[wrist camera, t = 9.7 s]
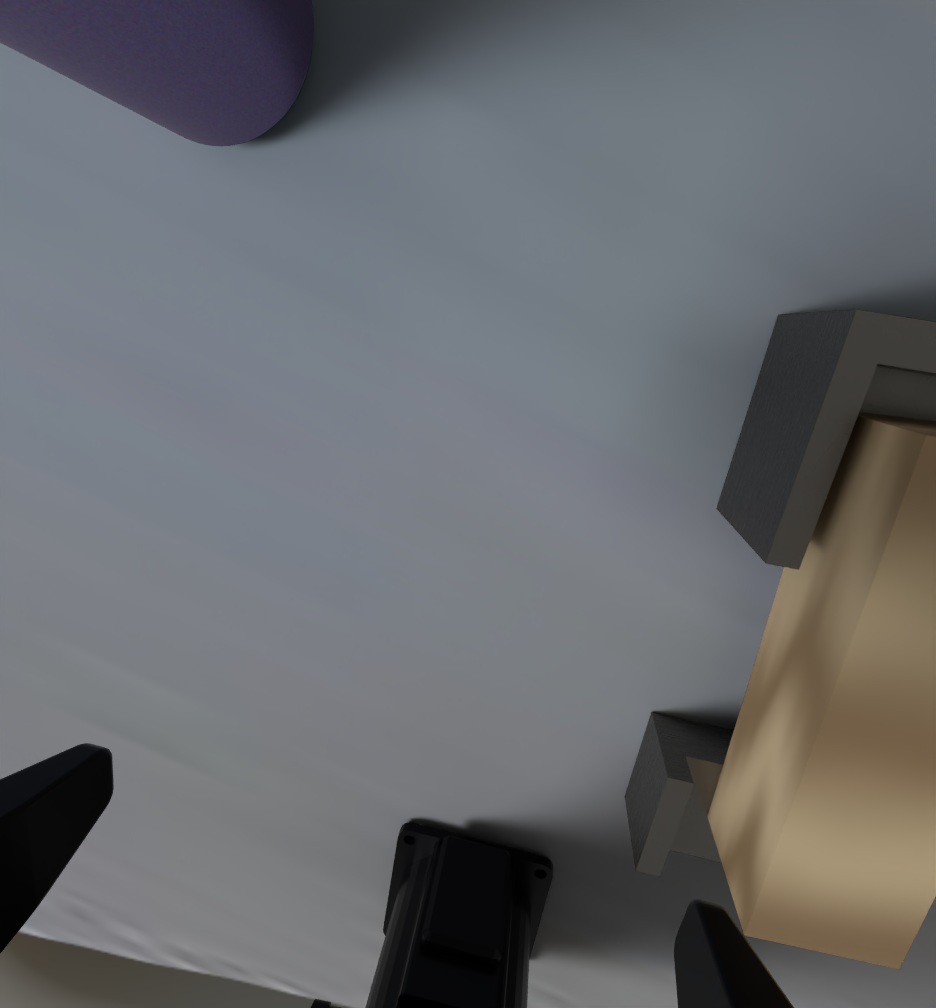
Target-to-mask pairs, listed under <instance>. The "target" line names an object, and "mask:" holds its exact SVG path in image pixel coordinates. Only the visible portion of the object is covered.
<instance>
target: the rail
mask: <svg viewBox="0 0 936 1008" xmlns="http://www.w3.org/2000/svg"><path fill="white" fill-rule="evenodd" d="M707 817H708V820H709V824H710V827H711V830H712V833H713V836H714V840H715V843H716V846H717V849H718V853H719V856H720V859H721V862H722V865H723V869H724V872H725V875H726V878H727V881H728V885H729V888H730V891H731V894H732V897H733V901H734V904H735V907H736V910H737V914H738V917H739V920H740V923H741V926H742V930H743V933H744V935H745V936H750V937H754V938H759V939H763V940H768V941H772V942H777V943H781V944H786V945H790V946H795V947H799V948H804V949H808V950H813V951H817V952H822V953H826V954H831V955H836V956H840V957H845V958H849V959H854V960H858V961H863V962H867V963H872V964H876V965H881V966H885V967H890V968H894V969H900V967H901V965H902V963H903V961H904V959H905V957H906V955H907V953H908V951H909V949H910V947H911V945H912V943H913V941H914V939H915V937H916V935H917V933H918V931H919V929H920V927H921V925H922V923H923V921H924V919H925V917H926V914H927V912H928V910H929V908H930V906H931V904H932V902H933V900H934V898H935V896H936V421H928V420H920V419H912V418H904V417H896V416H887V415H879V414H871V413H863V412H859V414H858V417H857V419H856V422H855V424H854V427H853V430H852V432H851V435H850V437H849V440H848V443H847V445H846V448H845V451H844V453H843V456H842V458H841V461H840V464H839V466H838V469H837V472H836V474H835V477H834V479H833V482H832V485H831V487H830V490H829V492H828V495H827V498H826V500H825V503H824V506H823V508H822V511H821V513H820V516H819V519H818V521H817V524H816V527H815V529H814V532H813V534H812V537H811V540H810V542H809V545H808V547H807V550H806V553H805V555H804V558H803V561H802V563H801V566H800V568H799V570H797V569H792V568H787V567H784V569H783V573H782V576H781V579H780V582H779V586H778V589H777V592H776V595H775V599H774V602H773V605H772V608H771V612H770V615H769V618H768V621H767V625H766V628H765V631H764V634H763V638H762V641H761V644H760V647H759V651H758V654H757V657H756V660H755V664H754V667H753V670H752V673H751V677H750V680H749V683H748V686H747V690H746V693H745V696H744V699H743V703H742V706H741V709H740V712H739V716H738V719H737V722H736V725H735V729H734V732H733V735H732V738H731V742H730V745H729V748H728V751H727V755H726V758H725V761H724V764H723V768H722V771H721V774H720V777H719V781H718V784H717V787H716V790H715V794H714V797H713V800H712V803H711V807H710V810H709V813H708V816H707Z"/></svg>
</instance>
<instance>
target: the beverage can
mask: <svg viewBox="0 0 936 1008" xmlns="http://www.w3.org/2000/svg"><path fill="white" fill-rule="evenodd" d="M0 43H2V44H4V45H6V46H8V47H10V48H12V49H14V50H16V51H18V52H20V53H22V54H24V55H25V56H27V57H29V58H31V59H33V60H35V61H37V62H39V63H41V64H43V65H45V66H47V67H49V68H51V69H53V70H55V71H56V72H58V73H60V74H62V75H64V76H66V77H68V78H70V79H72V80H74V81H76V82H78V83H80V84H82V85H84V86H85V87H87V88H89V89H91V90H93V91H95V92H97V93H99V94H101V95H103V96H105V97H107V98H109V99H111V100H113V101H114V102H116V103H118V104H120V105H122V106H124V107H126V108H128V109H130V110H132V111H134V112H136V113H138V114H140V115H142V116H144V117H145V118H147V119H149V120H151V121H153V122H155V123H157V124H159V125H161V126H163V127H165V128H167V129H169V130H171V131H173V132H174V133H176V134H178V135H180V136H182V137H184V138H186V139H189V140H191V141H194V142H197V143H201V144H205V145H211V146H230V145H236V144H240V143H244V142H247V141H250V140H252V139H254V138H256V137H258V136H260V135H261V134H263V133H265V132H266V131H267V130H269V129H270V128H271V127H273V126H274V125H275V124H276V123H277V122H278V121H279V120H280V119H281V118H282V117H283V116H284V115H285V114H286V112H287V111H288V110H289V109H290V107H291V106H292V104H293V103H294V101H295V99H296V98H297V96H298V94H299V92H300V90H301V87H302V85H303V82H304V80H305V77H306V74H307V70H308V66H309V62H310V57H311V51H312V43H313V9H312V1H311V0H0Z"/></svg>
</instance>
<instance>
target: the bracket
mask: <svg viewBox="0 0 936 1008" xmlns="http://www.w3.org/2000/svg"><path fill="white" fill-rule="evenodd" d="M859 412H863V413H871V414H879V415H887V416H896V417H904V418H912V419H920V420H928V421H936V322H932V321H925V320H919V319H913V318H907V317H900V316H894V315H888V314H881V313H875V312H869V311H863V310H843V311H828V312H813V313H798V314H783V315H778V317H777V321H776V324H775V327H774V330H773V333H772V336H771V339H770V343H769V346H768V349H767V352H766V355H765V358H764V361H763V364H762V368H761V371H760V374H759V377H758V380H757V383H756V386H755V390H754V393H753V396H752V399H751V402H750V405H749V408H748V411H747V415H746V418H745V421H744V424H743V427H742V430H741V433H740V437H739V440H738V443H737V446H736V449H735V452H734V455H733V459H732V462H731V465H730V468H729V471H728V474H727V477H726V480H725V484H724V487H723V490H722V493H721V496H720V499H719V502H718V506H717V510H718V511H719V512H720V513H721V514H722V515H723V516H724V517H725V519H726V520H727V521H728V522H729V523H730V524H731V525H732V526H733V527H734V529H735V530H736V531H737V532H738V533H739V534H740V535H741V536H742V537H743V539H744V540H745V541H746V542H747V543H748V544H749V545H750V546H751V547H752V549H753V550H754V551H755V552H756V553H757V554H758V555H759V556H760V558H761V559H762V560H763V561H764V562H765V563H767V564H772V565H777V566H782V567H787V568H792V569H797V570H799V568H800V566H801V563H802V561H803V558H804V555H805V553H806V550H807V547H808V545H809V542H810V540H811V537H812V534H813V532H814V529H815V527H816V524H817V521H818V519H819V516H820V513H821V511H822V508H823V506H824V503H825V500H826V498H827V495H828V492H829V490H830V487H831V485H832V482H833V479H834V477H835V474H836V472H837V469H838V466H839V464H840V461H841V458H842V456H843V453H844V451H845V448H846V445H847V443H848V440H849V437H850V435H851V432H852V430H853V427H854V424H855V422H856V419H857V417H858V414H859Z"/></svg>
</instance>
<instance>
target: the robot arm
mask: <svg viewBox="0 0 936 1008" xmlns="http://www.w3.org/2000/svg"><path fill="white" fill-rule="evenodd" d="M112 793H113V765H112V753H111V752H110V750H109V749H107V748H105V747H101V746H97V745H93V744H88V743H85V744H80V745H77V746H75V747H73V748H70V749H68V750H66V751H64V752H61V753H59V754H57V755H55V756H52V757H50V758H48V759H45V760H43V761H41V762H39V763H36V764H34V765H32V766H30V767H27V768H25V769H23V770H21V771H18V772H16V773H14V774H12V775H9V776H7V777H5V778H2V779H0V953H1V952H2V951H3V950H4V948H5V947H6V946H7V944H8V943H9V942H10V941H11V940H12V938H13V937H14V936H15V935H16V933H17V932H18V931H19V930H20V929H21V927H22V926H23V925H24V924H25V922H26V921H27V920H28V918H29V917H30V916H31V915H32V913H33V912H34V911H35V909H36V908H37V907H38V905H39V904H40V903H41V901H42V900H43V898H44V897H45V896H46V894H47V893H48V892H49V890H50V889H51V887H52V886H53V884H54V883H55V881H56V880H57V878H58V877H59V876H60V874H61V873H62V871H63V870H64V868H65V867H66V865H67V864H68V862H69V861H70V859H71V858H72V857H73V855H74V854H75V852H76V851H77V849H78V848H79V846H80V845H81V843H82V842H83V840H84V839H85V838H86V836H87V835H88V833H89V832H90V830H91V829H92V827H93V826H94V824H95V823H96V821H97V820H98V819H99V817H100V816H101V814H102V813H103V811H104V810H105V808H106V807H107V805H108V803H109V801H110V799H111V797H112ZM409 835H411V836H413V837H411V836H409ZM539 869H542V870H539ZM552 877H553V864H552V862H551V861H550V860H549V859H548V858H546V857H544V856H540V855H536V854H532V853H528V852H525V851H521V850H517V849H513V848H509V847H505V846H501V845H497V844H493V843H489V842H486V841H482V840H478V839H474V838H470V837H466V836H462V835H458V834H454V833H451V832H447V831H443V830H439V829H435V828H431V827H427V826H423V825H419V824H415V823H405V824H404V825H402V827H401V829H400V832H399V836H398V840H397V847H396V853H395V859H394V865H393V872H392V878H391V884H390V890H389V896H388V903H387V909H386V915H385V921H384V928H383V932H384V934H385V940H384V944H383V947H382V951H381V954H380V958H379V961H378V965H377V969H376V972H375V976H374V979H373V983H372V986H371V990H370V993H369V997H368V1001H367V1004H366V1008H527V995H528V972H529V958H530V955H531V951H532V948H533V944H534V941H535V937H536V934H537V930H538V927H539V923H540V920H541V916H542V913H543V909H544V906H545V902H546V898H547V895H548V891H549V888H550V884H551V881H552ZM674 960H675V973H676V985H677V998H678V1008H794V1007H793V1005H792V1004H791V1003H790V1001H789V1000H788V998H787V997H786V995H785V994H784V993H783V991H782V990H781V988H780V987H779V985H778V984H777V983H776V981H775V980H774V978H773V977H772V975H771V974H770V973H769V971H768V970H767V968H766V967H765V965H764V964H763V963H762V961H761V960H760V958H759V957H758V955H757V954H756V953H755V951H754V950H753V948H752V947H751V945H750V944H749V943H748V941H747V940H746V938H745V937H744V935H743V934H742V933H741V931H740V930H739V928H738V927H737V925H736V924H735V923H734V921H733V920H732V918H731V917H730V915H729V914H728V913H727V911H726V910H725V909H724V908H723V907H721V906H719V905H717V904H713V903H709V902H705V901H701V900H693V901H691V902H690V904H689V906H688V908H687V911H686V913H685V916H684V918H683V921H682V923H681V926H680V928H679V931H678V934H677V936H676V940H675V947H674ZM311 1008H341V1007H336V1006H331V1002H328V1001H324V1000H319V999H315V1000H314V1002H313V1004H312V1006H311Z"/></svg>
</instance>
